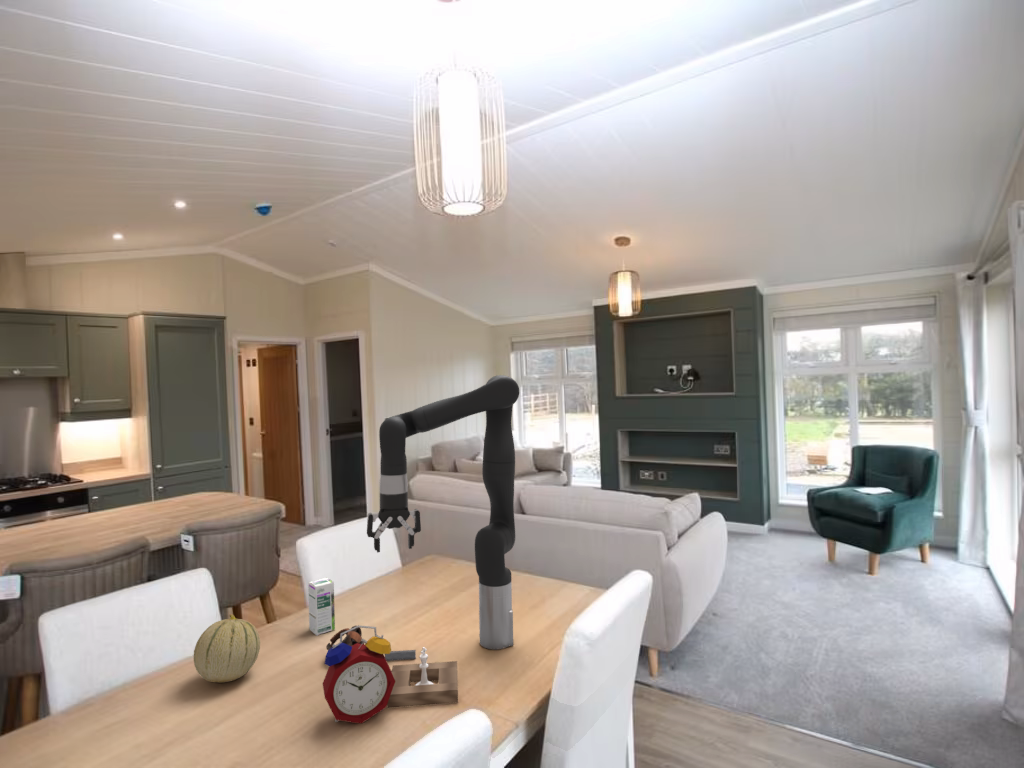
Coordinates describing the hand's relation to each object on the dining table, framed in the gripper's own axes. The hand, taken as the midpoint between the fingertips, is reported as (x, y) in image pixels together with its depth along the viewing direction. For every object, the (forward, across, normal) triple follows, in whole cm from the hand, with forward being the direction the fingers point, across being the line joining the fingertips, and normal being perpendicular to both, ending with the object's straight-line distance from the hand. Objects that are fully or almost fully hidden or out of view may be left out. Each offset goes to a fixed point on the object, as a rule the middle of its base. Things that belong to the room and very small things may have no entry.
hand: (394, 549), depth 148 cm
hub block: (+28, -4, +21) cm, 35 cm away
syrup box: (+28, +18, -22) cm, 41 cm away
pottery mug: (+28, +12, -3) cm, 31 cm away
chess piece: (+28, -4, +21) cm, 35 cm away
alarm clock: (+28, +11, +25) cm, 39 cm away
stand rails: (+28, 0, +9) cm, 29 cm away
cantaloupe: (+28, +41, -2) cm, 50 cm away
